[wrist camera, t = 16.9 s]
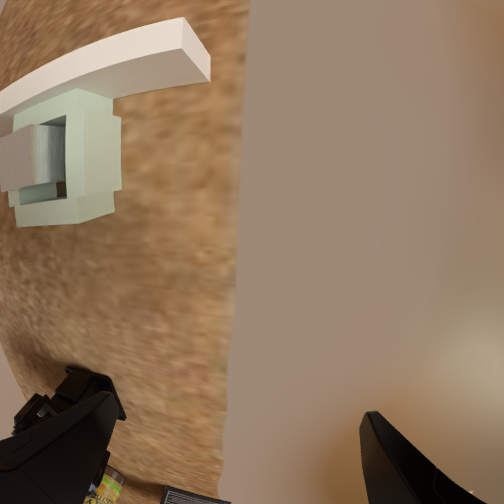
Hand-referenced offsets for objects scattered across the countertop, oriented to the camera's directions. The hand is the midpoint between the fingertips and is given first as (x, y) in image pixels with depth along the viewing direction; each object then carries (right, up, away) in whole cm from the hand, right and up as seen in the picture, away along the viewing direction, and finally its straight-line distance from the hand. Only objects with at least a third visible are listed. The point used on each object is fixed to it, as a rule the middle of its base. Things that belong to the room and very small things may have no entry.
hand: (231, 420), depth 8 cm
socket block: (-13, +13, +10) cm, 21 cm away
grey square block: (-13, +13, +10) cm, 21 cm away
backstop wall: (-13, +18, +9) cm, 24 cm away
